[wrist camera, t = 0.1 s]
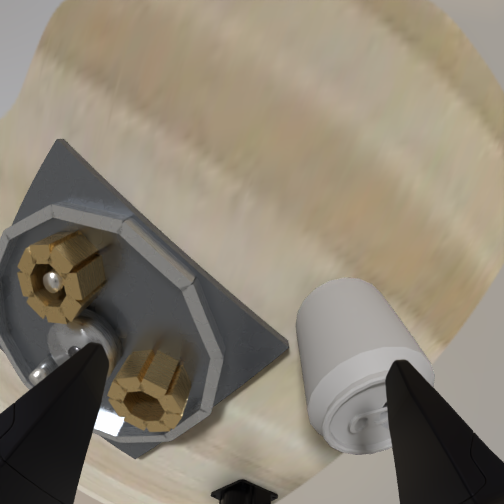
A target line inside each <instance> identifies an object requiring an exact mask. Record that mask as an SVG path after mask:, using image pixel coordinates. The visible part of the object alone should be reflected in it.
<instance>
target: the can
mask: <svg viewBox="0 0 504 504" xmlns="http://www.w3.org/2000/svg"><path fill="white" fill-rule="evenodd" d="M296 331H297V338H298V345H299V352H300V359H301V366H302V373H303V380H304V388H305V395H306V403H307V410H308V415H309V420H310V424H311V425H312V426H313V427H314V429H315V430H316V431H317V432H318V434H320V435H322V436H324V439H325V440H326V442H327V443H328V444H329V445H330V446H331V447H332V448H334V449H336V450H338V451H340V452H342V453H348V454H355V455H362V454H373V453H376V452H380V451H384V450H387V449H389V448H392V443H391V437H390V431H389V424H388V411H387V398H386V386H385V379H386V375H387V373H388V371H389V369H390V367H391V365H392V363H393V362H394V361H395V360H402V359H405V360H408V361H409V362H410V363H411V364H412V365H413V366H414V368H415V369H416V370H417V371H418V372H419V373H420V374H421V375H422V376H423V377H424V378H425V379H426V380H427V381H428V382H429V383H430V384H431V386H432V387H434V378H435V375H434V372H433V368H432V365H431V362H430V361H429V359H428V358H427V356H426V355H425V353H424V352H423V351H422V349H421V348H420V346H419V345H418V343H417V342H416V340H415V339H414V338H413V336H412V335H411V333H410V332H409V331H408V329H407V328H406V326H405V325H404V324H403V322H402V321H401V319H400V318H399V317H398V315H397V314H396V313H395V311H394V310H393V308H392V307H391V306H390V304H389V303H388V302H387V300H386V299H385V298H384V296H383V295H382V294H381V292H379V291H378V290H377V289H376V288H375V287H374V286H373V285H372V284H371V283H368V282H366V281H364V280H361V279H358V278H345V277H344V278H340V279H335V280H331V281H328V282H326V283H325V284H323V285H321V286H319V287H317V288H315V289H314V290H313V291H312V292H311V293H310V294H309V295H308V296H307V297H306V298H305V299H304V301H303V303H302V305H301V307H300V309H299V311H298V314H297V320H296Z"/></svg>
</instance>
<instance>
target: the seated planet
mask: <svg viewBox="0 0 504 504" xmlns="http://www.w3.org/2000/svg"><path fill="white" fill-rule="evenodd" d="M97 252H98V249H97V248H96V247H95V246H94V245H93V244H92V243H91V242H90V241H89V240H88V239H87V238H86V237H85V236H84V235H83V234H82V233H81V234H79V235H77V231H68V232H57V233H55V234H53V235H51V236H48V237H46V238H44V239H42V240H40V241H38V242H36V243H34V244H32V245H29V247H27V248H25V251H24V253H23V255H22V257H21V259H20V262H19V264H18V266H17V267H18V268H19V269H20V270H21V271H19V272H17V274H18V278H19V282H20V286H21V290H22V294H23V296H25V297H28V300H27V303H28V304H29V305H30V306H31V308H32V309H33V310H34V311H35V312H36V313H37V314H38V315H39V316H40V317H41V318H42V319H44V318H45V317H47V320H48V322H51V323H60V324H68V323H69V322H72V321H73V320H74V319H75V318H76V317H77V316H78V315H79V314H80V313H81V312H82V311H83V310H84V309H86V308H87V307H88V306H89V305H90V304H91V303H92V302H93V301H94V300H95V298H96V297H97V296H98V294H99V293H100V291H101V290H102V288H103V287H104V286H105V285H104V284H103V283H102V282H104V281H105V280H106V277H105V272H104V266H103V260H102V256H95V255H96V253H97ZM53 269H55V270H56V271H57V273H58V274H59V275H60V276H61V277H62V279H63V284H64V287H63V288H61V289H60V290H59V291H57V292H56V293H51V292H49V291H48V290H47V289H46V288H45V286H44V284H43V277H44V275H45V274H46V273H48V272H50V271H51V270H53Z"/></svg>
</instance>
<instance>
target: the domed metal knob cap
mask: <svg viewBox="0 0 504 504" xmlns="http://www.w3.org/2000/svg"><path fill="white" fill-rule="evenodd" d="M47 340H48V347H49V350H50V353H51V355H52V357H53V359H54V360H55V362H56V363H57V365H58V366H60V365H61V364H62V363H64V362H65V361H66V360H67V359H69V358H70V357H71V356H73V355H74V354H75V353H76V352H78V351H79V350H80V349H81V348H83V347H84V346H85V345H86V344H88V343H90V342H94V343H100V344H102V345H103V347H104V350H105V352H106V355H107V357H108V359H109V370H108V374H107V379H108V378H109V376H110V375H111V373H112V372H113V370H114V368H115V367H116V365H117V364H118V362H119V361H120V358H121V355H122V346H121V342H120V339H119V337H118V335H117V333H116V331H115V330H114V328H113V327H112V326H111V324H110V323H109V322H108V321H107V320H106V319H105V318H103V317H102V316H101V315H99V314H98V313H96V312H94V311H92V310H89V309H84V310H83V311H82V312H81V313H80V314H79V315H78V316H77V317H76V318H75V319H74V320H73V321H72V322H69V323H68V324H60V323H55V324H54V325H53V326H52V327H51V328H50V330H49V332H48V338H47ZM107 379H106V380H107Z"/></svg>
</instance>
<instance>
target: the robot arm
mask: <svg viewBox="0 0 504 504" xmlns="http://www.w3.org/2000/svg"><path fill="white" fill-rule="evenodd" d="M108 370H109V359H108V357H107V355H106V352H105V350H104V347H103V345H102V344H100V343H94V342H90V343H88V344H86V345H85V346H84V347H83V348H81V349H80V350H79V351H78V352H76V353H75V354H74V355H73V356H71V357H70V358H69V359H67V360H66V361H65V362H64V363H62V364H61V365H60V366H59V367H57V368H56V369H55V370H54V371H52V372H51V373H50V374H49V375H48V376H46V377H45V378H44V379H43V380H41V381H40V382H39V383H38V384H36V385H35V386H34V387H33V388H31V389H30V390H29V391H28V392H27V393H25V394H24V395H23V396H22V397H20V398H19V399H18V400H17V401H16V402H15V403H13V404H12V405H11V406H9V407H8V408H7V409H6V410H4V411H3V412H2V413H1V414H0V504H73V503H74V499H75V495H76V490H77V486H78V483H79V479H80V475H81V471H82V467H83V464H84V460H85V456H86V453H87V449H88V446H89V443H90V439H91V436H92V433H93V429H94V426H95V423H96V420H97V416H98V413H99V410H100V406H101V402H102V397H103V393H104V388H105V383H106V379H107V374H108ZM385 386H386V398H387V411H388V424H389V431H390V437H391V443H392V449H393V455H394V462H395V468H396V475H397V483H398V490H399V499H400V504H504V463H503V461H502V460H500V459H499V458H498V457H497V456H496V455H495V454H494V453H493V452H492V451H491V450H490V449H489V448H488V447H487V446H486V445H485V443H484V442H483V441H482V440H481V439H480V438H479V437H478V436H477V435H476V434H475V433H473V430H472V429H471V428H470V427H469V426H468V425H467V424H466V423H465V421H464V420H463V419H462V418H461V417H460V416H459V415H458V414H457V413H456V412H455V410H454V409H453V408H452V407H451V406H450V405H449V404H448V403H447V402H446V401H445V400H444V398H443V397H441V395H440V394H439V393H438V392H437V391H436V390H435V389H434V388H433V387H432V386H431V384H430V383H429V382H428V381H427V380H426V379H425V378H424V377H423V376H422V375H421V374H420V373H419V372H418V371H417V370H416V369H415V368H414V366H413V365H412V364H411V363H410V362H409V361H408V360H405V359H402V360H395V361H394V362H393V363H392V365H391V367H390V369H389V371H388V373H387V375H386V379H385ZM211 496H212V497H214V498H216V499H218V500H220V502H219V504H271V501H272V500H275V499H277V498H278V495H277V494H275V493H273V492H270V491H268V490H266V489H263V488H261V487H259V486H257V485H255V484H252V483H250V482H248V481H246V480H238V481H236V482H234V483H232V484H230V485H227V486H225V487H223V488H221V489H218V490H216V491H214V492H212V493H211Z"/></svg>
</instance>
